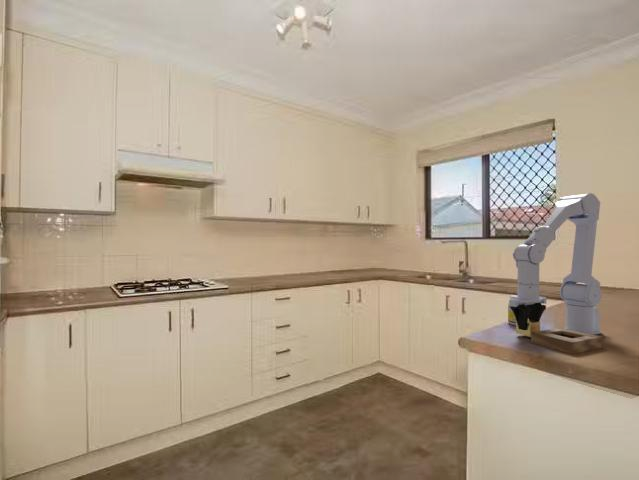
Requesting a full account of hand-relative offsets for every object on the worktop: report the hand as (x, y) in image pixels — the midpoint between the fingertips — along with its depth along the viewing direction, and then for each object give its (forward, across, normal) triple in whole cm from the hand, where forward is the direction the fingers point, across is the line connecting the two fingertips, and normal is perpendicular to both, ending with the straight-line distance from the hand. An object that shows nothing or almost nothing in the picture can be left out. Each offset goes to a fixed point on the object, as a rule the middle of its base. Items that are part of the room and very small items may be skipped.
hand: (528, 328), depth 108 cm
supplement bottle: (+3, -13, -13) cm, 19 cm away
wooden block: (+2, 0, 0) cm, 2 cm away
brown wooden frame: (+2, -2, +10) cm, 10 cm away
